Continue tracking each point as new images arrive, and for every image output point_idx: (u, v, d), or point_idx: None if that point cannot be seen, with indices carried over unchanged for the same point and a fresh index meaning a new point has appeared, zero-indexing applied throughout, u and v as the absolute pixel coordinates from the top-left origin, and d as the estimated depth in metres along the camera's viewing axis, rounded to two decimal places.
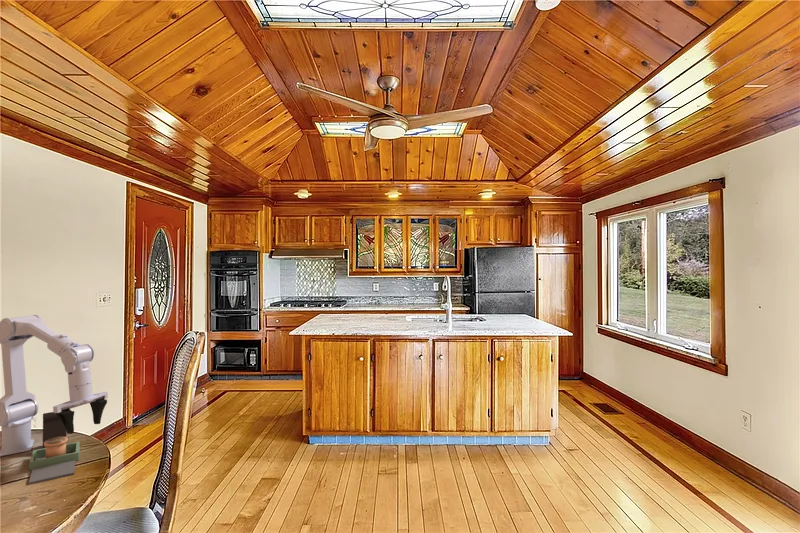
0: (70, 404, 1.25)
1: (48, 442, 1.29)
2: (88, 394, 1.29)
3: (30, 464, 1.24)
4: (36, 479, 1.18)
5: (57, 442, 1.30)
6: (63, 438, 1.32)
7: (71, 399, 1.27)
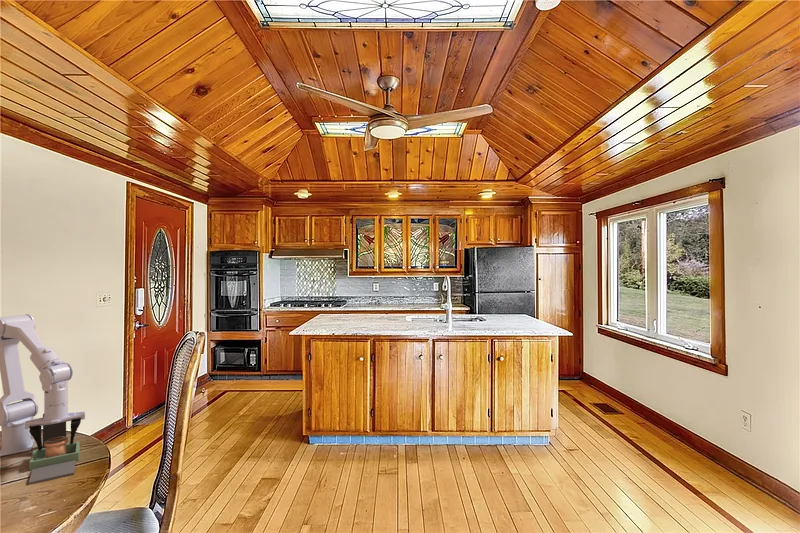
0: (38, 422, 1.27)
1: (48, 442, 1.29)
2: (57, 415, 1.29)
3: (30, 464, 1.24)
4: (36, 479, 1.18)
5: (57, 442, 1.30)
6: (63, 438, 1.32)
7: (44, 416, 1.29)
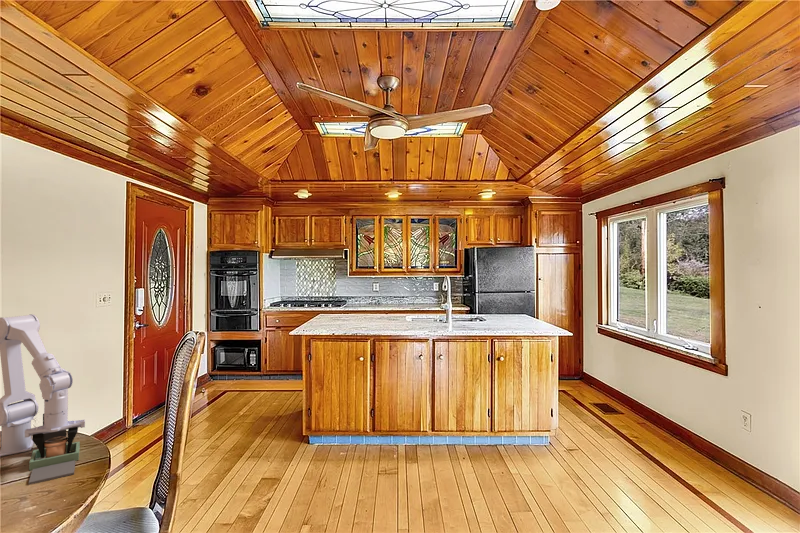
0: (38, 431, 1.27)
1: (48, 442, 1.29)
2: (57, 423, 1.29)
3: (30, 464, 1.24)
4: (36, 479, 1.18)
5: (57, 442, 1.30)
6: (63, 438, 1.32)
7: (44, 425, 1.29)
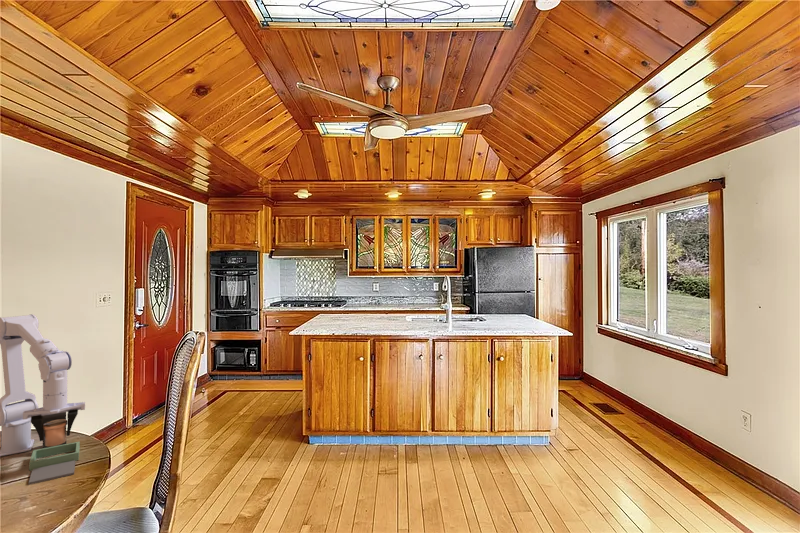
0: (36, 412, 1.23)
1: (47, 425, 1.25)
2: (56, 405, 1.25)
3: (30, 464, 1.24)
4: (36, 479, 1.18)
5: (56, 425, 1.26)
6: (62, 421, 1.28)
7: (43, 406, 1.25)
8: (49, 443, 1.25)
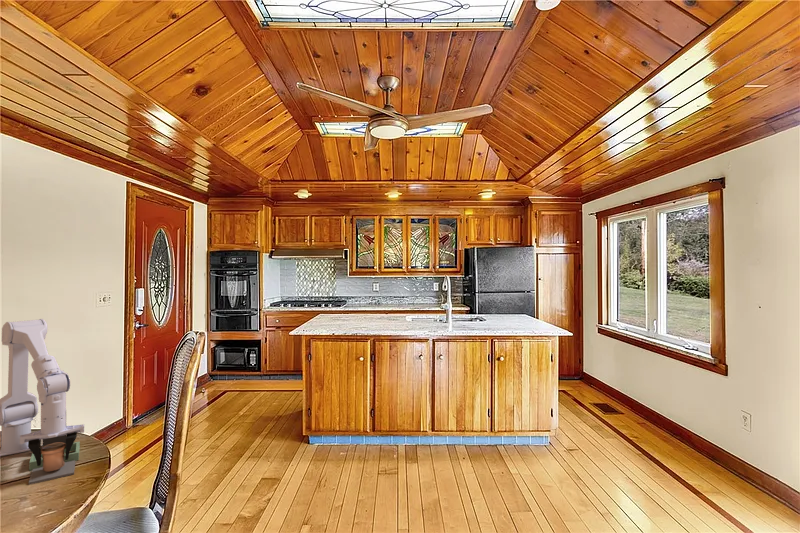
0: (34, 437, 1.19)
1: (45, 449, 1.21)
2: (54, 428, 1.21)
3: (30, 464, 1.24)
4: (36, 479, 1.18)
5: (54, 449, 1.22)
6: (61, 444, 1.24)
7: None
8: (47, 468, 1.21)
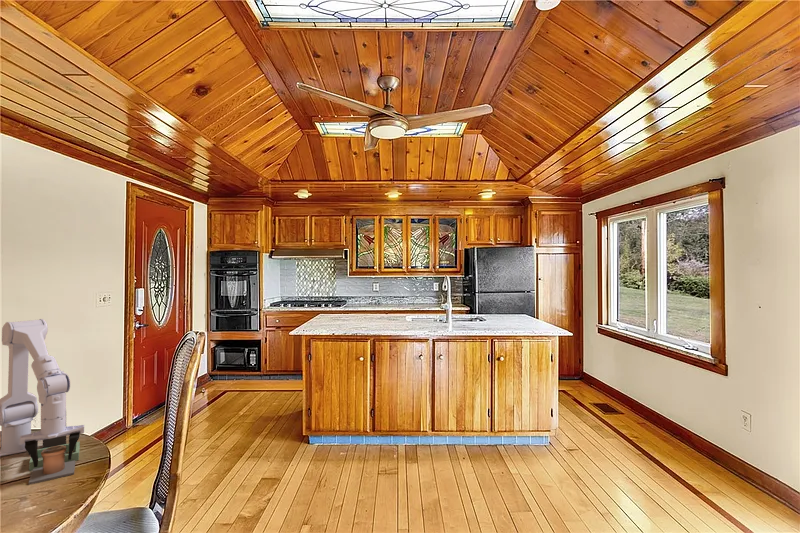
0: (34, 437, 1.19)
1: (46, 452, 1.22)
2: (54, 429, 1.21)
3: (30, 464, 1.24)
4: (36, 479, 1.18)
5: (55, 452, 1.22)
6: (61, 447, 1.25)
7: (40, 431, 1.21)
8: (47, 470, 1.21)
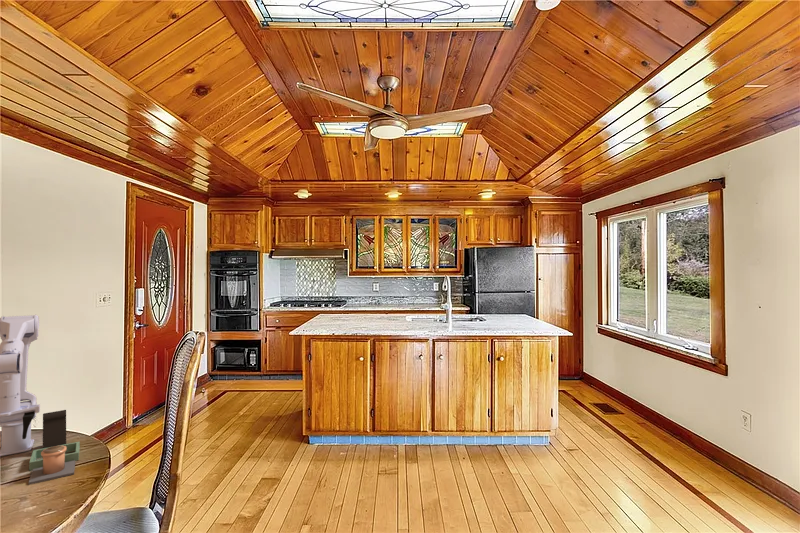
0: None
1: (46, 452, 1.22)
2: (7, 407, 1.20)
3: (30, 464, 1.24)
4: (36, 479, 1.18)
5: (55, 452, 1.22)
6: (61, 447, 1.25)
7: None
8: (47, 470, 1.21)
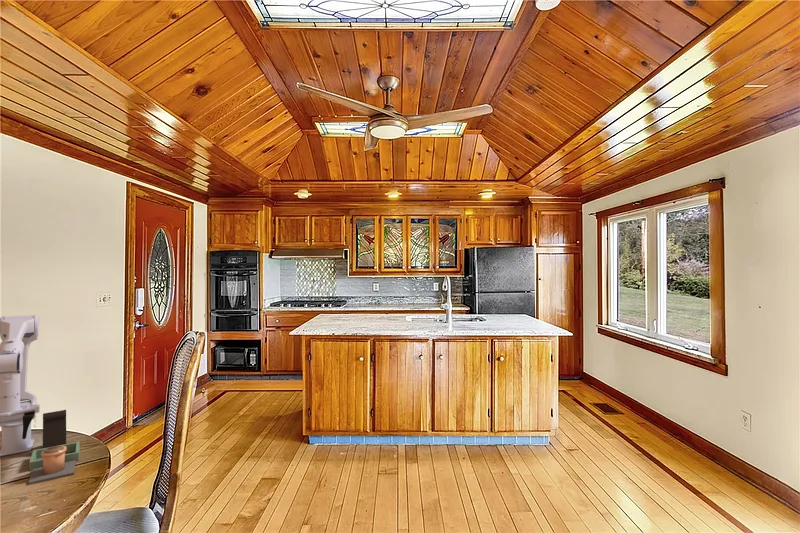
0: None
1: (46, 452, 1.22)
2: (7, 407, 1.20)
3: (30, 464, 1.24)
4: (36, 479, 1.18)
5: (55, 452, 1.22)
6: (61, 447, 1.25)
7: None
8: (47, 470, 1.21)
